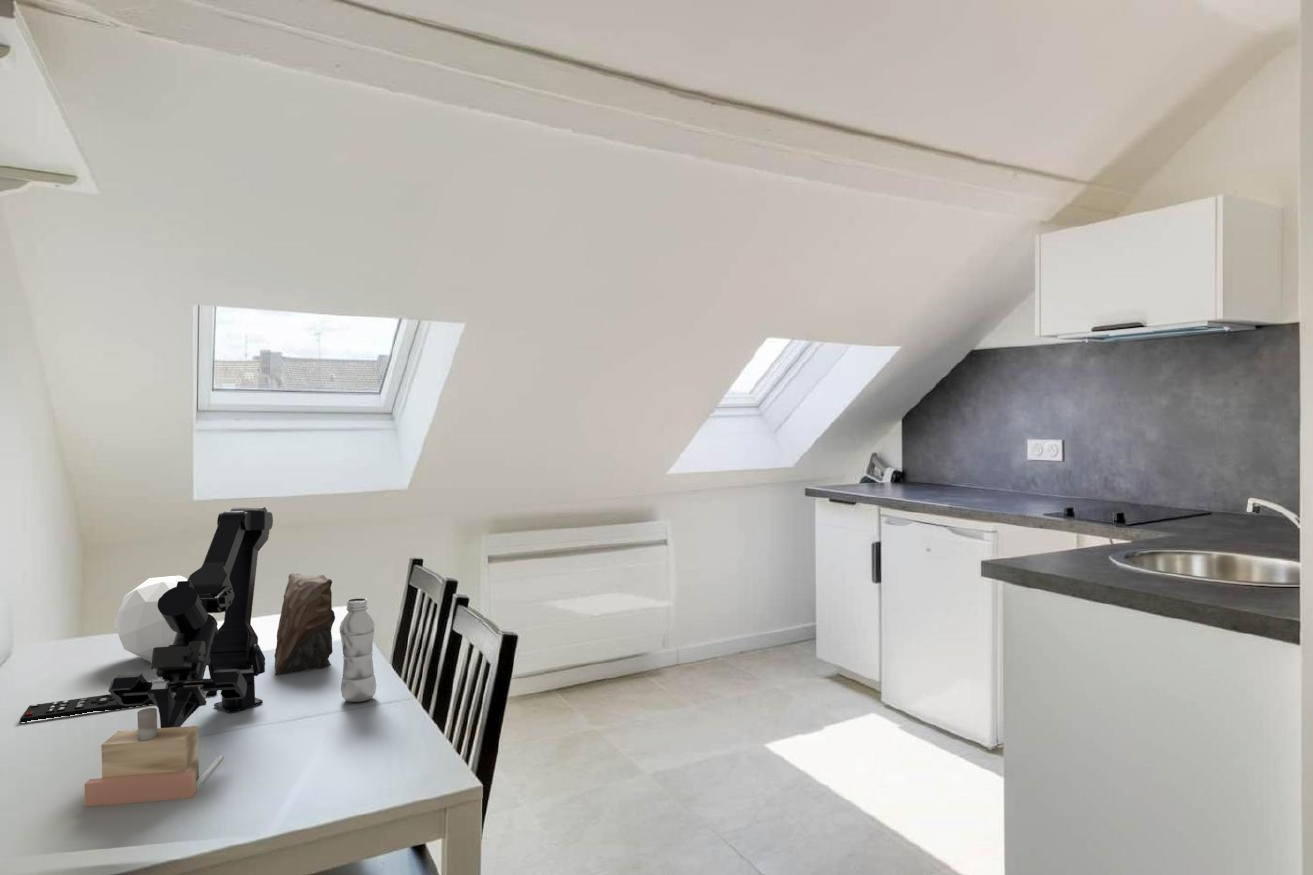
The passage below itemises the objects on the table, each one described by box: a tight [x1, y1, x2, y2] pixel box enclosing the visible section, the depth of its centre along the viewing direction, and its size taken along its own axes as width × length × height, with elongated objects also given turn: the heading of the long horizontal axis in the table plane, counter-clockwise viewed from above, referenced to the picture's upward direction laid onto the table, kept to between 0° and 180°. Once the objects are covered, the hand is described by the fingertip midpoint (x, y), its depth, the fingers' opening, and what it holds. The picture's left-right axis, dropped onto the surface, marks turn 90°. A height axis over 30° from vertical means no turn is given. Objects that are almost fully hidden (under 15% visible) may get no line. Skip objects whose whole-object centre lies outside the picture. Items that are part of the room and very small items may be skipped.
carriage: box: [100, 707, 200, 781], centre depth 118 cm, size 5×11×12 cm, turn 100°
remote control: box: [19, 690, 218, 723], centre depth 157 cm, size 8×32×2 cm, turn 118°
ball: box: [113, 575, 216, 663], centre depth 185 cm, size 19×20×20 cm
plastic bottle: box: [339, 597, 377, 703], centre depth 157 cm, size 6×7×20 cm
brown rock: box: [274, 573, 336, 677], centre depth 180 cm, size 13×13×20 cm
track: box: [84, 755, 225, 807], centre depth 120 cm, size 13×14×4 cm
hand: (165, 739), depth 123 cm, fingers closed
